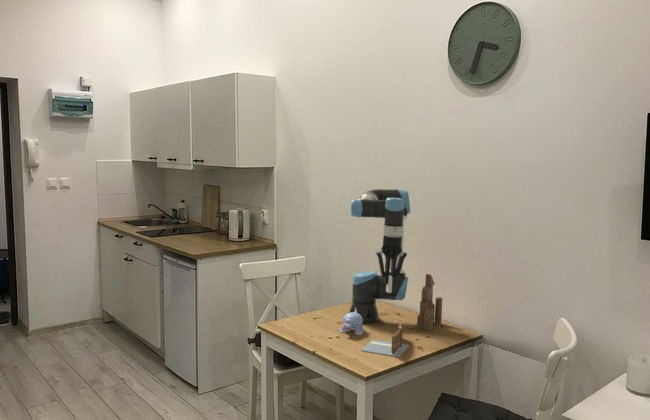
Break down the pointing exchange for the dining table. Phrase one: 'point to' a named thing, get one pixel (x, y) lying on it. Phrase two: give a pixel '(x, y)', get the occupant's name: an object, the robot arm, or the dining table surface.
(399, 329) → the fence panel
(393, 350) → the fence fixed
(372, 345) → the card
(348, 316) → the hippopotamus toy
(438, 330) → the dining table surface
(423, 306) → the wooden toy
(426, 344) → the dining table surface
